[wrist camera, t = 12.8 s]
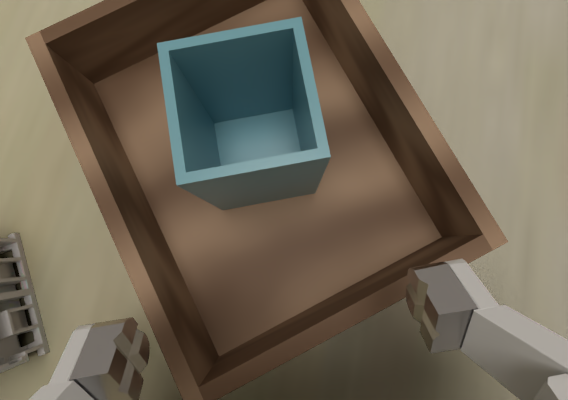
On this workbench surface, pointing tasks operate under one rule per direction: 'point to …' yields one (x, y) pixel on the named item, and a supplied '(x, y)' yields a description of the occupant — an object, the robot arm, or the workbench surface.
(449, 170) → the walnut crate
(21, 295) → the circuit breaker
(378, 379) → the workbench surface
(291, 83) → the teal crate
